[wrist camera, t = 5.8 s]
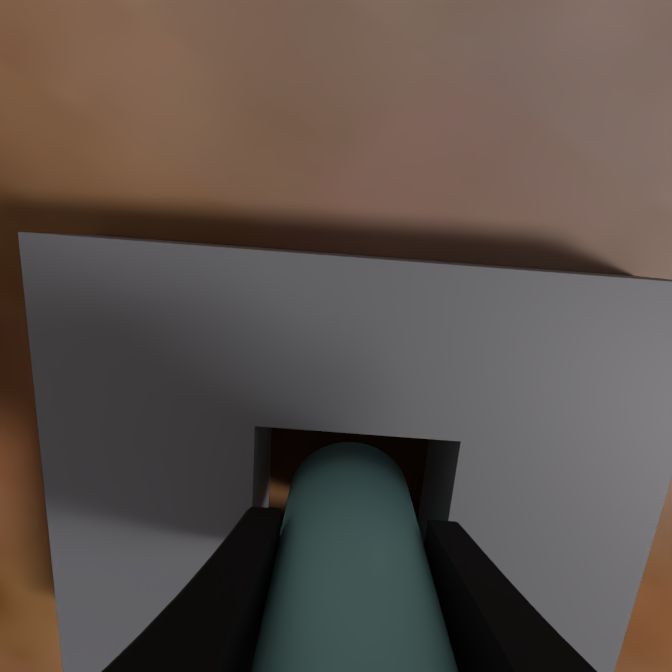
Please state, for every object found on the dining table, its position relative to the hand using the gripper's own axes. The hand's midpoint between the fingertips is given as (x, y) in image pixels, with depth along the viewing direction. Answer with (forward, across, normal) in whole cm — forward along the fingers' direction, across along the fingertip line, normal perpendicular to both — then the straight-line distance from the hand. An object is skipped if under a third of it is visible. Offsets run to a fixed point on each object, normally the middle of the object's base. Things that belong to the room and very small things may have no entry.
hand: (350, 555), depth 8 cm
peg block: (+3, 0, 0) cm, 3 cm away
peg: (+2, 0, 0) cm, 2 cm away
